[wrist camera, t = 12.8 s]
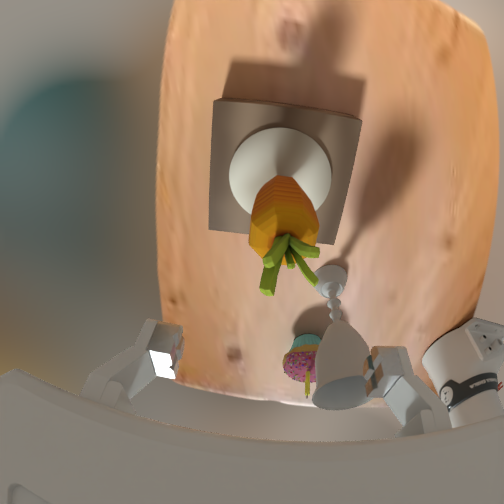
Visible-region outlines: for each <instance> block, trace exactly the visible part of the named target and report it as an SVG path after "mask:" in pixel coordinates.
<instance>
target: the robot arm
mask: <svg viewBox="0 0 504 504" xmlns="http://www.w3.org/2000/svg"><path fill="white" fill-rule="evenodd" d="M182 333H183V327H182V326H181V325H177V324H172V323H167V322H163V321H158V320H153V319H147V320H146V321H145V323H144V326H143V328H142V330H141V332H140V334H139V336H138V338H137V341H136V343H135V345H134V347H129V348H127V349H126V350H124V351H123V352H121V353H120V354H118V355H117V356H115V357H114V358H112V359H110V360H109V361H107V362H106V363H104V364H103V365H102V366H100V367H98V368H97V369H95V370H94V371H92V372H90V374H89V376H88V378H87V381H86V383H85V385H84V387H83V389H82V391H81V393H80V395H79V396H78V395H75V394H73V393H71V392H68V391H66V390H63V389H61V388H59V387H56V386H54V385H52V384H50V383H48V382H45V381H43V380H41V379H39V378H37V377H35V376H33V375H31V374H29V373H27V372H25V371H23V370H20V369H14V370H12V371H9V372H7V373H6V374H4V375H2V376H0V504H504V409H503V407H502V404H501V401H500V399H499V396H498V393H497V391H499V390H500V389H501V388H502V387H503V386H501V387H500V388H499V386H500V385H501V384H502V382H500V383H499V384H498V381H497V373H498V371H499V369H500V367H501V365H502V363H503V361H504V344H503V342H502V341H503V340H504V326H503V325H500V324H496V323H493V322H489V321H486V320H482V319H478V318H472V319H471V320H469V321H468V322H466V323H465V324H464V325H463V326H461V327H459V328H458V329H455V330H453V331H451V332H449V333H448V334H446V335H444V336H443V337H441V338H440V339H439V340H437V341H436V342H435V343H434V344H433V345H432V346H431V347H430V348H429V349H428V350H427V351H426V353H425V355H424V356H423V359H422V365H423V367H424V368H425V369H426V371H427V372H428V375H429V377H430V378H431V380H432V382H433V384H434V386H435V388H436V391H437V393H438V395H439V397H440V399H439V398H438V396H437V395H436V394H435V393H434V392H433V391H432V390H431V389H430V388H429V387H428V386H427V385H426V384H425V383H424V382H423V381H422V380H421V379H420V378H419V377H418V376H417V375H414V373H413V369H412V366H411V362H410V359H409V356H408V353H407V349H406V348H405V347H401V346H374V347H373V348H372V349H371V355H370V356H368V357H367V358H366V360H365V361H364V365H363V376H364V378H365V379H366V380H367V383H366V384H365V389H366V395H367V398H383V399H384V400H385V402H386V403H387V404H388V406H389V407H390V409H391V410H392V411H393V413H394V414H395V415H396V417H397V418H398V420H399V421H400V423H401V424H402V425H403V427H402V428H401V429H400V430H399V431H398V432H397V433H396V434H395V438H388V439H377V440H364V441H343V442H341V441H340V442H305V441H304V442H303V441H283V440H269V439H258V438H248V437H240V436H232V435H225V434H219V433H212V432H206V431H201V430H195V429H190V428H186V427H181V426H176V425H172V424H167V423H163V422H159V421H155V420H152V419H148V418H144V417H140V416H137V415H135V414H136V411H135V409H134V407H133V405H132V403H131V402H130V399H131V398H132V397H133V396H135V395H136V394H137V393H138V392H139V391H140V390H142V389H143V388H144V387H145V386H146V385H147V384H148V383H150V382H151V381H152V380H153V379H154V378H155V377H156V376H162V377H166V378H172V379H175V378H176V375H177V371H178V368H179V364H178V361H179V360H180V359H181V358H182V355H183V351H184V337H183V336H182Z"/></svg>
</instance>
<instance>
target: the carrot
mask: <svg viewBox="0 0 504 504" xmlns="http://www.w3.org/2000/svg"><path fill="white" fill-rule="evenodd" d="M319 227H320V226H319V221H318V218H317V215H316V212H315V209H314V206H313V204H312V201H311V200H310V199H309V197H308V196H307V194H306V193H305V192H304V191H303V189H302V188H301V187H300V185H299V184H298V183H297V182H296V180H295V179H294V178H293V177H288V176H280V175H276V176H275V177H274V178H272V179H271V180H269V181H268V182H267V183H265V184H264V185H263V186H262V188H261V189H260V190H259V192H258V193H257V195H256V198H255V201H254V205H253V209H252V213H251V220H250V230H249V245H250V246H251V247H252V248H253V249H254V251H255V252H256V253H257V254H258V255H259V256H260V257H261V258H262V259H263V264H264V269H263V273H262V277H261V282H260V287H259V288H260V291H261V292H262V293H263V294H265V295H266V296H274V292H275V287H276V282H277V275H278V272H279V269H280V266H281V265H287V267H288V269H293V268H295V264H296V263H297V265H298V266H299V268H300V270H301V272H302V273H303V275H304V277H305V278H306V279H307V280H308V281H309V283H310V284H311V285H313V286H314V287H315V286H316V285H317V284H318V282H319V279H318V278H317V276H316V275H315V274H314V273H313V272H312V271H311V270H310V268H309V267H308V265H307V264H306V263H305V261H304V260H303V259H304V258H306V257H308V258H319V254H320V249H319V248H318V247H315V244H316V240H317V236H318V231H319Z"/></svg>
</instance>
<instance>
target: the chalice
mask: <svg viewBox="0 0 504 504" xmlns="http://www.w3.org/2000/svg"><path fill="white" fill-rule="evenodd" d="M314 274H315V275H316V276H317V278H318V279H319V282H318V284H317V285H316V286H315V287H314V286H313V287H314V288H315V289H316V290H317V291H318V292H319V294H320V295H321V296H323V297H325V298H330V300H329V301H328V303H327V306H328V307H329V308H331V312H330V314H329V316H330V318H332V320H333V323H331V324H330V325H329V326H328V327H327V329H326V331H325V334H324V336H323V338H322V340H321V342H320V344H319V347H318V350H317V354H316V358H315V370H316V390H315V392H314V394H313V397H312V401H313V403H314V405H316V406H317V407H319V408H322V409H326V410H345V409H350V408H354V407H357V406H360V405H362V404H365V403H367V402H368V401H370V400H372V399H373V398H367V395H366V389H365V384H366V383H367V380H366V379H365V378H364V376H363V365H364V361H365V360H366V358H367V357H368V356H370V351H369V347H368V345H367V344H366V342H365V341H364V339H363V338H362V337H361V335H360V334H359V333H358V332H357V331H356V330H355V329H354V328H353V327H352V326H351V325H350V324H349V323H348V322H346V321H341V320H340V319H341V315H342V311H341V310H339V308H338V307H339V306H340V304H341V301H340V300H339V299H337V296H339V295H340V294H341V293H342V292H343V290H344V287H345V285H346V282H347V273H346V271H345V270H344V269H343V268H341V267H340V266H337V265H326V266H323V267H321V268H319V269H318V270H317V271H316V272H315V273H314Z"/></svg>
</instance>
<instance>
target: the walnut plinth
mask: <svg viewBox="0 0 504 504" xmlns="http://www.w3.org/2000/svg"><path fill="white" fill-rule="evenodd" d="M361 126H362V120H360V119H358V118H356V117H355V116H353V115H349V114H344V113H339V112H334V111H329V110H323V109H318V108H312V107H305V106H299V105H292V104H284V103H276V102H267V101H258V100H246V99H233V98H220V99H217V100H215V101H214V103H213V119H212V138H211V160H210V189H209V230H216V231H225V232H234V233H242V234H249V230H250V220H251V213H252V209H253V205H254V201H255V198H256V195H257V193H258V192H259V190H260V189H261V188H262V186H263V185H264V184H265V183H267V182H268V181H269V180H271V179H272V178H274V177H275V176H276V175H280V176H288V177H293V178H294V179H295V180H296V182H297V183H298V184H299V185H300V187H301V188H302V189H303V191H304V192H305V193H306V194H307V196H308V197H309V199H310V200H311V201H312V204H313V206H314V209H315V212H316V215H317V218H318V221H319V226H320V227H319V231H318V236H317V240H316V243H322V244H330V245H334V243H335V239H336V235H337V231H338V228H339V224H340V220H341V216H342V212H343V208H344V204H345V200H346V196H347V192H348V187H349V183H350V179H351V174H352V170H353V165H354V161H355V156H356V151H357V146H358V141H359V136H360V131H361Z"/></svg>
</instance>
